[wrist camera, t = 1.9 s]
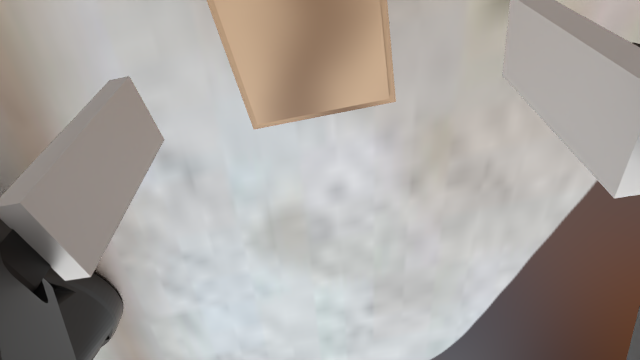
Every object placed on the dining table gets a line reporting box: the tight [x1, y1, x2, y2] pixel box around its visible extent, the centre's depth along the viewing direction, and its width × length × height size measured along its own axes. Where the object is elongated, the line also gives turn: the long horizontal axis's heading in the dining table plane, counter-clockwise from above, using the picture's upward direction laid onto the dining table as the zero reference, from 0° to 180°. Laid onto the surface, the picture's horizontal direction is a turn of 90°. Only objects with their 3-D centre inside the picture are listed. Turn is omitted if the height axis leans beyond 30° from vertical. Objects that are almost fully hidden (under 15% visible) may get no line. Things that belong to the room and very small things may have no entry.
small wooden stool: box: [207, 0, 396, 129], centre depth 20 cm, size 7×7×9 cm
